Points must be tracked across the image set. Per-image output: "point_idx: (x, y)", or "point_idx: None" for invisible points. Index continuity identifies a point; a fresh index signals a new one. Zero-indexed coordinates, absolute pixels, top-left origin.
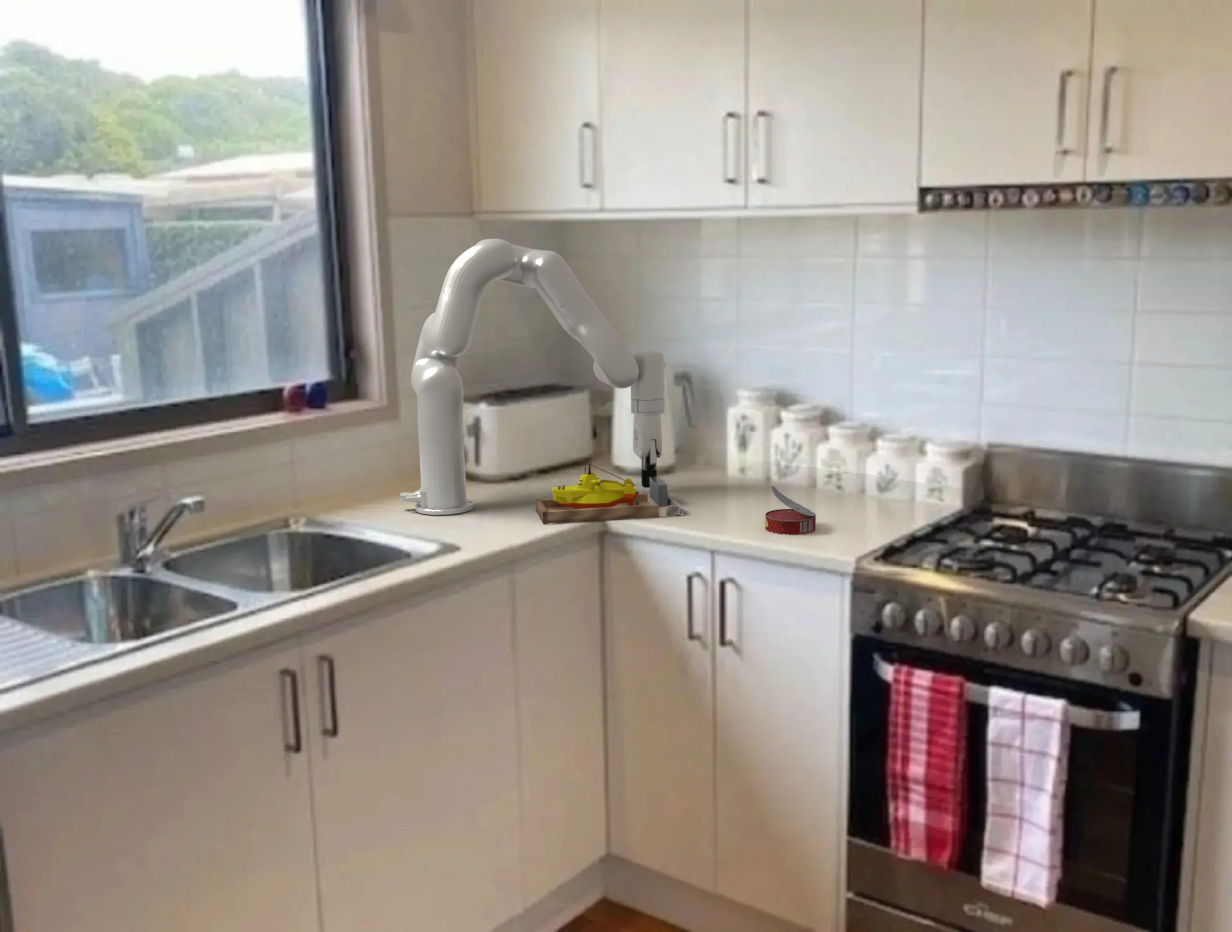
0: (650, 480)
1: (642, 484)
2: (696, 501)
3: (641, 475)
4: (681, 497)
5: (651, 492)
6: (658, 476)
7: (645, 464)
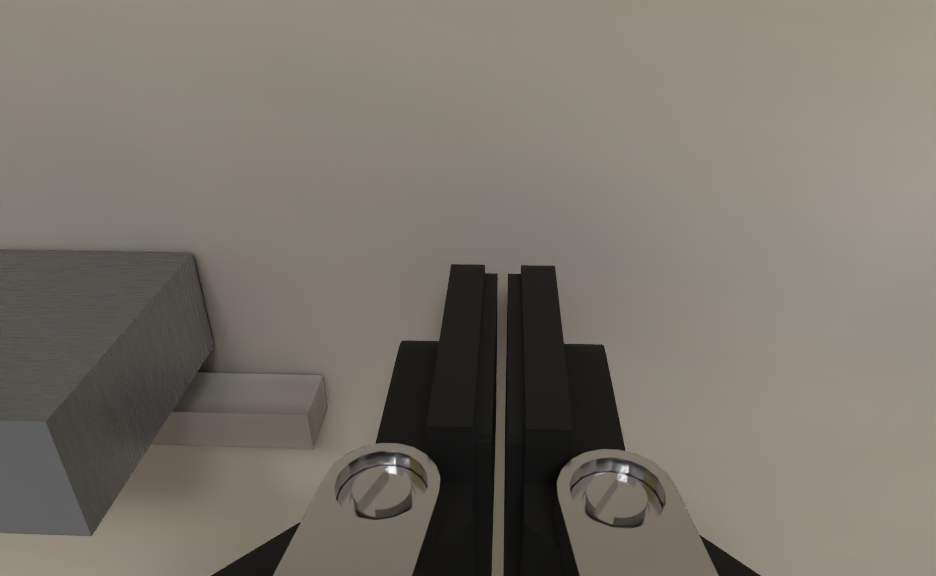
0: (4, 388)
1: (526, 280)
2: (8, 570)
3: (557, 351)
4: (174, 512)
5: (46, 289)
6: (83, 535)
7: (289, 573)
